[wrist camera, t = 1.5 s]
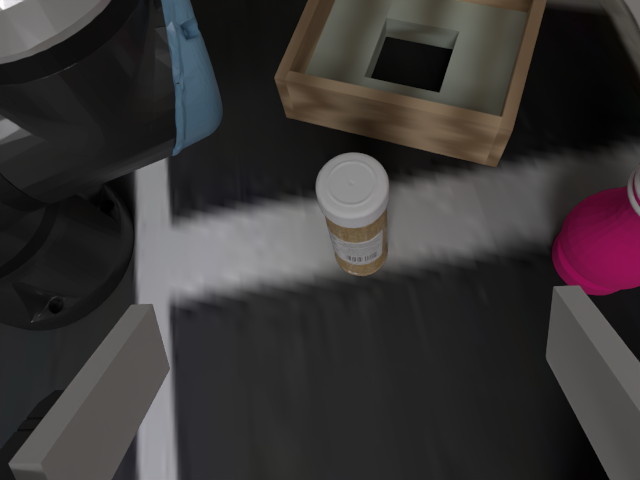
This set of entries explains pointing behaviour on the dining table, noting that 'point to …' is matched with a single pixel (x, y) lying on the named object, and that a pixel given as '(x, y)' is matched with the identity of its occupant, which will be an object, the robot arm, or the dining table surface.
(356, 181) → the sprinkles bottle
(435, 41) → the bore box
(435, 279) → the dining table surface
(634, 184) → the pepper mill
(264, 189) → the dining table surface
